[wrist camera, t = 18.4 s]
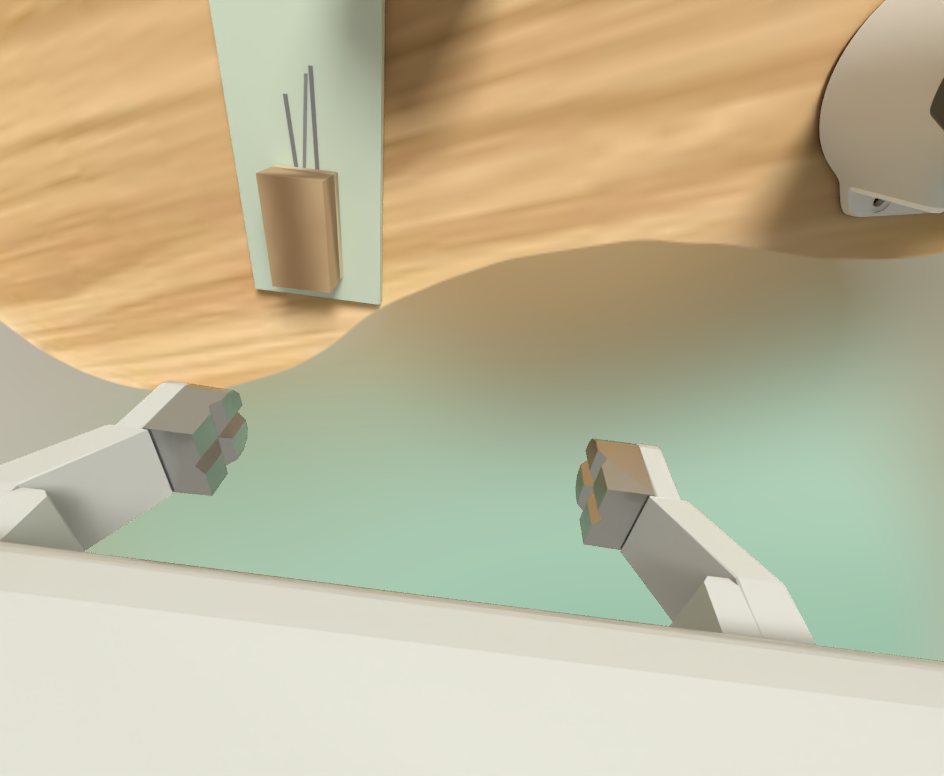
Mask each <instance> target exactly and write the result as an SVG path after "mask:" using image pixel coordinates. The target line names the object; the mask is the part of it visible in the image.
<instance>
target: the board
mask: <svg viewBox="0 0 944 776" xmlns="http://www.w3.org/2000/svg"><path fill="white" fill-rule="evenodd" d="M209 5H210V11H211V17H212V23H213V29H214V35H215V42H216V48H217V54H218V60H219V66H220V73H221V79H222V85H223V91H224V97H225V104H226V110H227V116H228V122H229V128H230V134H231V141H232V147H233V153H234V159H235V165H236V172H237V178H238V184H239V190H240V196H241V203H242V209H243V215H244V221H245V227H246V234H247V240H248V246H249V252H250V258H251V264H252V271H253V277H254V283H255V289H262V290H270V291H277V292H285V293H293V294H300V295H308V296H316V297H324V298H331V299H339V300H347V301H354V302H362V303H370V304H378V305H380V303H381V301H382V265H383V161H384V56H385V0H209ZM276 164H278V165H286V166H294V167H301V168H309V169H317V170H324V171H332V172H338V188H339V207H340V226H341V245H342V264H343V277H342V278H341V280H340V281H339V283H338V284H337V285H336V287H335V288H334V289H333V291H332V292H331V293H324V292H316V291H308V290H300V289H291V288H283V287H275V286H272V279H271V273H270V266H269V259H268V253H267V246H266V239H265V232H264V226H263V219H262V212H261V206H260V199H259V192H258V185H257V179H256V173H257V172H260V171H262V170H264V169H267V168H269V167H272V166H274V165H276Z"/></svg>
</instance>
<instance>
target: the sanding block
mask: <svg viewBox="0 0 944 776" xmlns="http://www.w3.org/2000/svg"><path fill="white" fill-rule="evenodd" d="M256 179H257V185H258V192H259V199H260V206H261V212H262V219H263V226H264V232H265V239H266V246H267V253H268V259H269V266H270V273H271V279H272V286H275V287H283V288H291V289H300V290H308V291H316V292H324V293H331V292H332V291H333V289H334V288H335V287H336V285H337V284H338V283H339V281H340V280H341V278H342V277H343V264H342V245H341V226H340V207H339V188H338V172H332V171H324V170H317V169H309V168H301V167H294V166H286V165H278V164H276V165H274V166H272V167H269V168H267V169H264V170H262V171H260V172H257V173H256Z"/></svg>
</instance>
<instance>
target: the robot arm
mask: <svg viewBox="0 0 944 776" xmlns="http://www.w3.org/2000/svg"><path fill="white" fill-rule="evenodd" d="M819 128H820V141H821V146H822V150H823V153H824V156H825V158H826V160H827V162H828V164H829V165H830V167H831V168H832V170H833V171H834V173H835V174H836V176H837V178H838V180H839V183H840V203H841V208H842V211H843V212H844V213H845V214H847V215H850V216H855V217H871V216H888V215H904V214H920V213H942V212H944V0H885V1H884V2H883V3H882V4H881V5H880V6H879V7H878V8H877V9H876V10H875V11H874V12H873V14H872V15H871V16H870V17H869V18H868V19H867V20H866V21H865V23H864V24H863V25H862V26H861V28H860V29H859V30H858V32H857V33H856V34H855V36H854V37H853V38H852V40H851V41H850V43H849V44H848V46H847V47H846V49H845V51H844V52H843V54H842V56H841V58H840V59H839V61H838V63H837V65H836V67H835V69H834V71H833V74H832V76H831V78H830V81H829V83H828V86H827V89H826V92H825V95H824V99H823V103H822V108H821V114H820V125H819ZM876 198H878V201H877V202H876V203H875V204H873V202H874V200H875V199H876ZM241 406H242V402H241V398H240V395H239V393H237V392H236V391H234V390H228V389H222V388H215V387H209V386H203V385H196V384H188V383H181V382H175V381H167V382H163V383H161V384H160V385H159V386H158V387H157V388H156V389H155V390H154V391H153V392H151V393H150V394H149V395H148V396H147V397H146V398H145V399H144V400H143V401H142V402H140V403H139V404H138V405H137V406H136V407H135V408H134V409H133V410H132V411H131V412H130V413H128V414H127V415H126V416H125V417H124V418H123V419H122V420H121V421H120V422H118V423H117V424H116V425H105V426H102V427H100V428H97V429H95V430H92V431H89V432H87V433H84V434H81V435H79V436H76V437H73V438H71V439H68V440H65V441H63V442H60V443H58V444H55V445H52V446H50V447H47V448H44V449H42V450H39V451H36V452H34V453H31V454H29V455H26V456H23V457H20V458H18V459H15V460H13V461H10V462H7V463H5V464H2V465H0V776H944V661H938V660H930V659H922V658H914V657H905V656H897V655H890V654H882V653H874V652H866V651H857V650H850V649H841V648H834V647H826V646H818V645H816V643H815V641H814V640H813V638H812V636H811V634H810V632H809V630H808V628H807V627H806V624H805V623H804V621H803V619H802V617H801V615H800V613H799V611H798V609H797V607H796V606H795V604H794V602H793V600H792V598H791V596H790V594H789V593H788V591H787V589H786V587H785V585H784V584H783V583H782V582H781V581H780V580H778V579H777V578H776V577H775V576H774V575H773V574H771V573H770V572H769V571H768V570H767V569H766V568H765V567H763V566H762V565H761V564H760V563H759V562H757V561H756V560H755V559H754V558H753V557H752V556H751V555H750V554H748V553H747V552H746V551H745V550H744V549H743V548H741V547H740V546H739V545H738V544H737V543H736V542H734V541H733V540H732V539H731V538H730V537H729V536H728V535H726V534H725V533H724V532H723V531H722V530H721V529H720V528H718V527H717V526H716V525H715V524H714V523H713V522H711V521H710V520H709V519H708V518H707V517H706V516H704V515H703V514H702V513H701V512H700V511H699V510H698V509H696V508H695V507H694V506H693V505H692V504H691V503H689V502H688V501H684V500H681V498H680V496H679V493H678V491H677V489H676V486H675V484H674V481H673V479H672V476H671V474H670V472H669V469H668V467H667V464H666V462H665V459H664V457H663V454H662V452H661V450H660V448H659V447H657V446H653V445H644V444H631V443H623V442H615V441H608V440H600V439H591V441H590V442H589V444H588V446H587V449H586V455H587V461H586V462H584V463H582V464H581V465H580V468H579V471H578V475H577V481H576V499H577V504H578V505H579V506H580V507H581V509H582V510H583V512H582V515H581V518H580V525H581V530H582V537H583V543H584V544H586V545H593V546H599V547H605V548H611V549H618V550H621V553H622V554H623V556H624V557H625V558H626V560H627V561H628V562H629V564H630V565H631V566H632V568H633V569H634V570H635V572H636V573H637V574H638V576H639V577H640V578H641V580H642V581H643V582H644V584H645V585H646V586H647V588H648V589H649V590H650V592H651V593H652V594H653V596H654V597H655V598H656V600H657V601H658V602H659V604H660V605H661V607H662V608H663V609H664V610H665V612H666V613H667V615H668V616H669V617H670V619H671V620H672V621H673V623H672V624H671V625H670V626H662V625H654V624H646V623H638V622H631V621H623V620H615V619H607V618H599V617H591V616H583V615H576V614H568V613H560V612H552V611H543V610H535V609H529V608H520V607H513V606H505V605H497V604H489V603H481V602H472V601H465V600H457V599H449V598H441V597H432V596H425V595H417V594H410V593H402V592H394V591H385V590H378V589H370V588H363V587H355V586H347V585H339V584H331V583H324V582H316V581H308V580H300V579H292V578H285V577H276V576H268V575H261V574H253V573H245V572H237V571H229V570H222V569H214V568H206V567H198V566H190V565H182V564H175V563H167V562H158V561H151V560H143V559H135V558H128V557H120V556H112V555H103V554H96V553H88V552H85V550H86V549H88V548H90V547H91V546H93V545H94V544H96V543H97V542H99V541H100V540H102V539H104V538H105V537H107V536H108V535H110V534H112V533H113V532H114V531H116V530H118V529H119V528H121V527H122V526H124V525H125V524H127V523H129V522H130V521H132V520H133V519H135V518H136V517H138V516H139V515H141V514H143V513H144V512H146V511H147V510H149V509H150V508H152V507H153V506H155V505H157V504H158V503H160V502H161V501H162V500H164V499H166V498H167V497H169V496H170V495H172V494H173V492H180V493H189V494H200V495H210V496H212V495H213V494H214V492H215V491H216V490H217V488H218V487H219V485H220V484H221V482H222V481H223V480H224V478H225V477H226V475H227V474H228V473H227V469H226V465H228V464H229V463H231V462H233V461H235V460H237V459H238V458H239V456H240V455H241V453H242V451H243V450H244V447H245V444H246V440H247V429H248V428H247V423H246V420H245V419H244V418H243V417H242V416H241V415H240V414H239V413H238V410H239V409H240V408H241Z"/></svg>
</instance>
